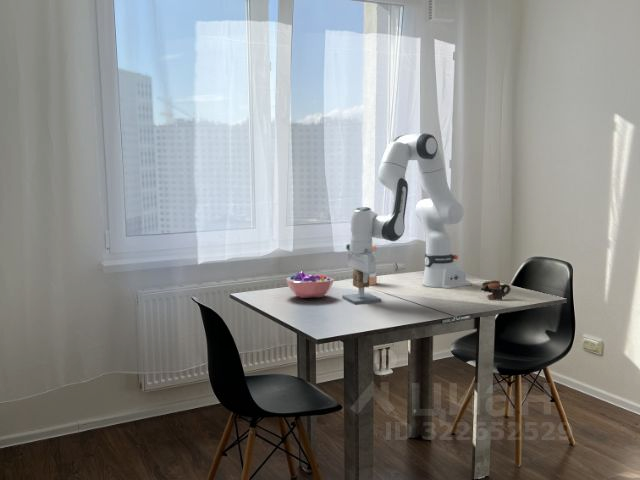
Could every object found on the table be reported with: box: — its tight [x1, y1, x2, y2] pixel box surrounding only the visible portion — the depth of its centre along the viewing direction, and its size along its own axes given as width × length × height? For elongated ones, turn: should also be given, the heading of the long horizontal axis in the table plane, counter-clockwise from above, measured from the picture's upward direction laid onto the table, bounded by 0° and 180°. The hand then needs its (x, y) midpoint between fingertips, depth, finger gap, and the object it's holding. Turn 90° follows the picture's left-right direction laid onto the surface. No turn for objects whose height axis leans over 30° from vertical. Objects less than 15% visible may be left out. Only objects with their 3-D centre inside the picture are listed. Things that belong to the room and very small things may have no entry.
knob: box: [352, 270, 370, 289], centre depth 262 cm, size 5×5×7 cm
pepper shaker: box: [369, 243, 377, 286], centre depth 294 cm, size 7×7×19 cm
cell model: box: [285, 270, 335, 299], centre depth 267 cm, size 17×20×11 cm
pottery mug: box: [480, 280, 512, 301], centre depth 266 cm, size 12×10×8 cm
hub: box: [341, 287, 382, 305], centre depth 263 cm, size 12×12×6 cm
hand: (361, 281), depth 262 cm, fingers closed on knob, 5 cm apart
